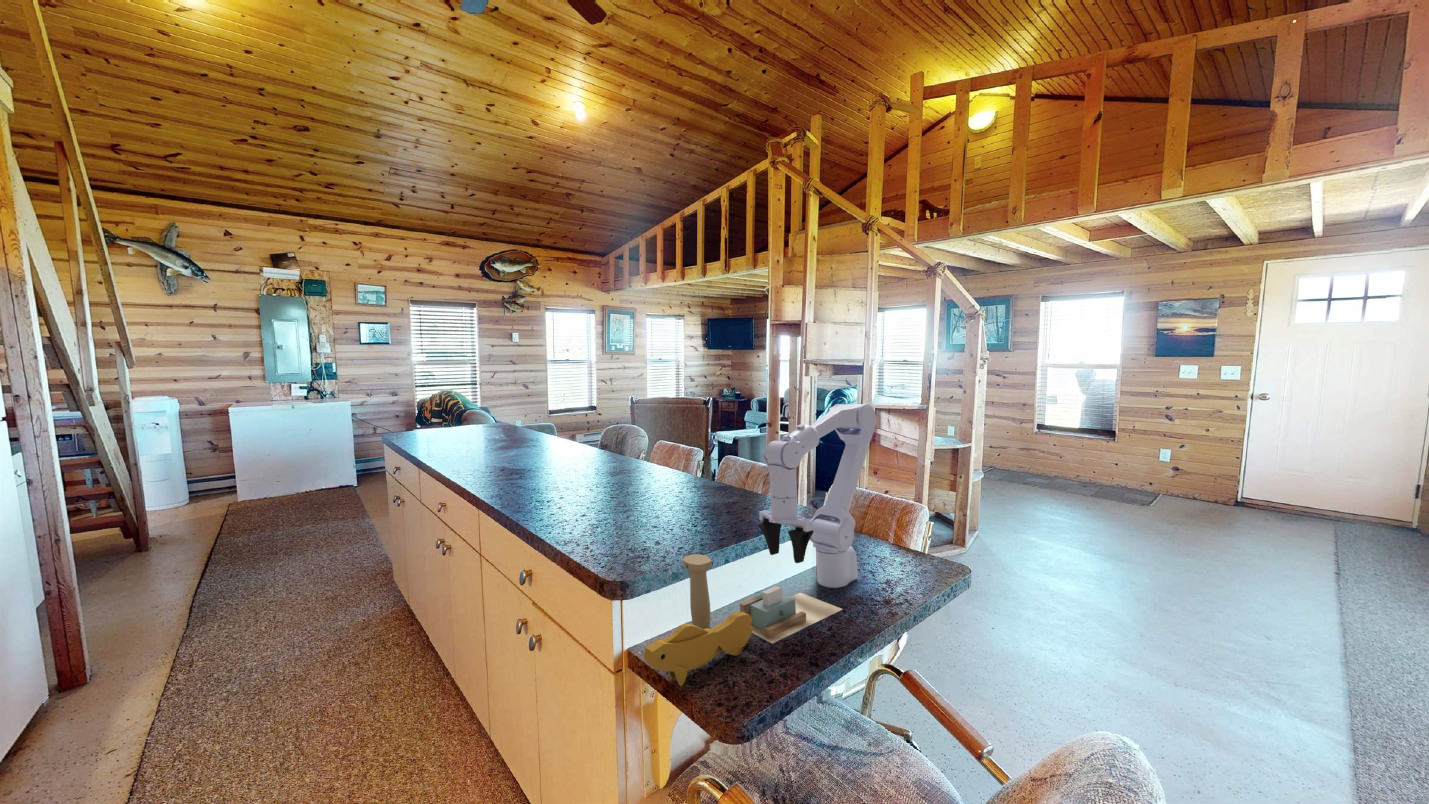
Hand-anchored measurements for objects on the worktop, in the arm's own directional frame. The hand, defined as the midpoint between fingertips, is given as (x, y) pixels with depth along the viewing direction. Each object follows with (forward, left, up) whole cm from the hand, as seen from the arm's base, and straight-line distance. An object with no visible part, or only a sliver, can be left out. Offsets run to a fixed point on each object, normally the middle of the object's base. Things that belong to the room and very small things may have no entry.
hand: (786, 557), depth 113 cm
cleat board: (+5, +5, -10) cm, 13 cm away
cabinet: (+9, +5, -9) cm, 14 cm away
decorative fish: (+28, +8, -11) cm, 31 cm away
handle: (+21, -3, -11) cm, 24 cm away
